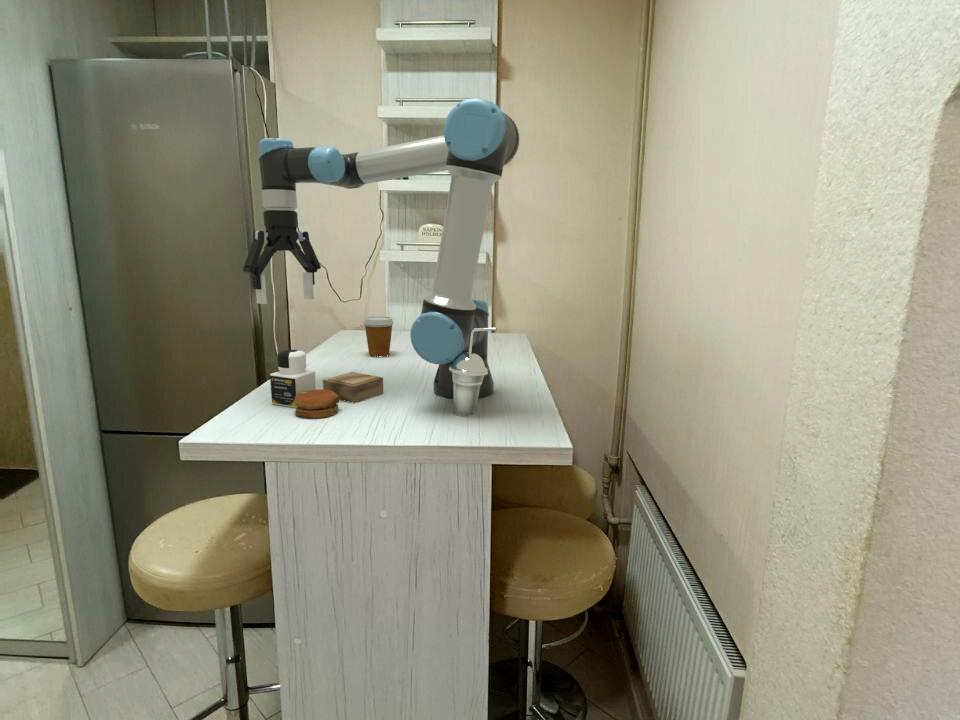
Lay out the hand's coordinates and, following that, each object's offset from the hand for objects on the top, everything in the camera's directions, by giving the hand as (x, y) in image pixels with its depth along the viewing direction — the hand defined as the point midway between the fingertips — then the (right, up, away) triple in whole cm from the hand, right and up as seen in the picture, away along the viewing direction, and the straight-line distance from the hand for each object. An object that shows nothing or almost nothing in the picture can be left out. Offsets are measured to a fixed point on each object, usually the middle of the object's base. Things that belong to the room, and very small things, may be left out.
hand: (286, 301), depth 134 cm
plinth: (+16, -23, 0) cm, 28 cm away
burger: (+11, -26, -13) cm, 31 cm away
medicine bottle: (+4, -24, -6) cm, 25 cm away
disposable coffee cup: (+14, -13, +45) cm, 49 cm away
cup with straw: (+43, -26, -12) cm, 52 cm away
